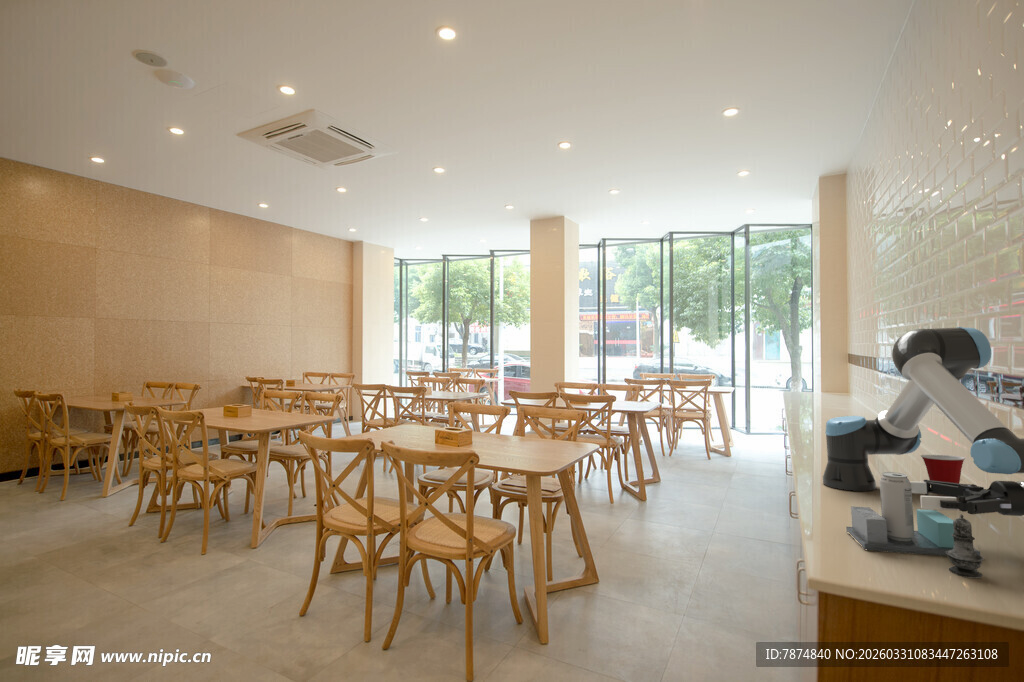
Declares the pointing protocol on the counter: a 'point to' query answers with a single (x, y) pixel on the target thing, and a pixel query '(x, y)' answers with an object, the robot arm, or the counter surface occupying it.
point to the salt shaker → (964, 551)
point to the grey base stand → (874, 535)
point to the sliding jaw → (936, 527)
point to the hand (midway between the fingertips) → (907, 493)
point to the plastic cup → (943, 467)
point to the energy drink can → (897, 505)
